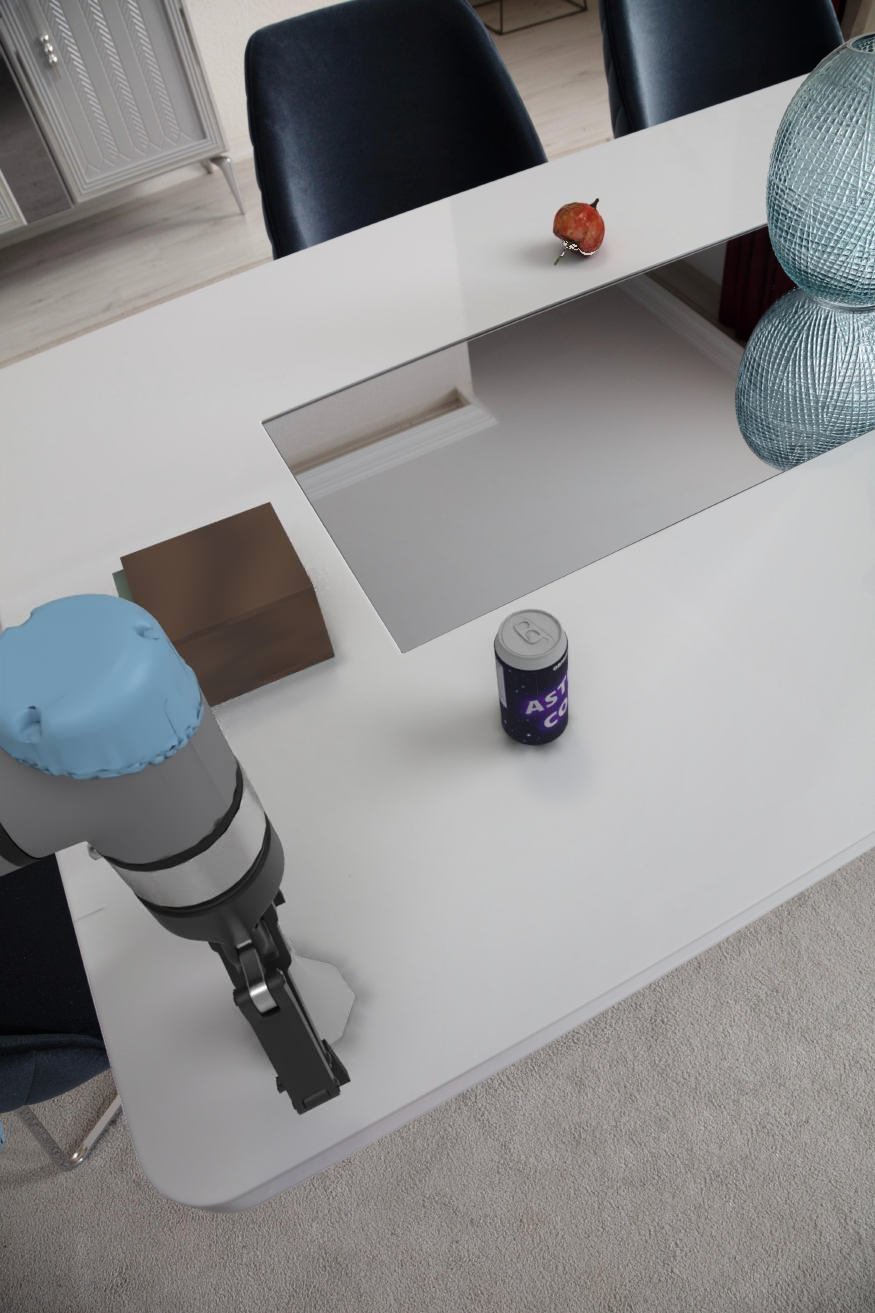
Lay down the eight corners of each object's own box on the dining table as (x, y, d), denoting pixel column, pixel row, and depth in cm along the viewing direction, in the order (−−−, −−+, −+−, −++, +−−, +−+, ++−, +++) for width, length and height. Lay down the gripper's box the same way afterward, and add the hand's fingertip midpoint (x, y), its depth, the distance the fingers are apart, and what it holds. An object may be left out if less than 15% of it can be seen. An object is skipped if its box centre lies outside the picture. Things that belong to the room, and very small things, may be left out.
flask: (232, 1024, 66) (187, 972, 58) (297, 941, 69) (263, 881, 61) (309, 1084, 63) (272, 1037, 55) (373, 993, 66) (347, 937, 58)
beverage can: (527, 763, 77) (521, 673, 68) (489, 718, 80) (478, 627, 71) (582, 729, 78) (583, 637, 69) (542, 686, 82) (538, 593, 72)
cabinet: (186, 717, 84) (149, 649, 77) (155, 626, 92) (119, 557, 84) (335, 656, 87) (313, 585, 79) (293, 572, 94) (270, 501, 87)
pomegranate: (581, 287, 127) (631, 225, 124) (549, 254, 122) (600, 188, 119) (555, 270, 132) (602, 210, 129) (524, 238, 127) (572, 175, 125)
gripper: (81, 698, 54) (198, 864, 70) (183, 1120, 39) (302, 1207, 55) (203, 649, 55) (290, 823, 71) (349, 1037, 40) (417, 1146, 56)
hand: (296, 990), depth 63 cm, fingers open, 13 cm apart
